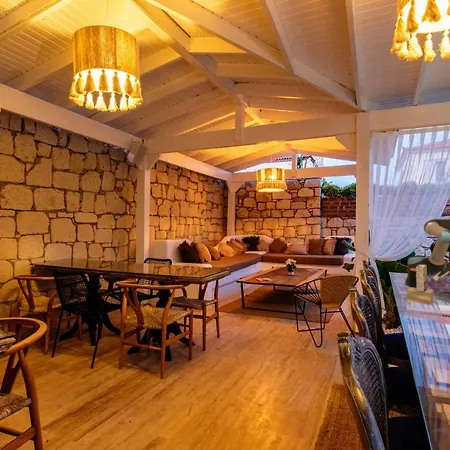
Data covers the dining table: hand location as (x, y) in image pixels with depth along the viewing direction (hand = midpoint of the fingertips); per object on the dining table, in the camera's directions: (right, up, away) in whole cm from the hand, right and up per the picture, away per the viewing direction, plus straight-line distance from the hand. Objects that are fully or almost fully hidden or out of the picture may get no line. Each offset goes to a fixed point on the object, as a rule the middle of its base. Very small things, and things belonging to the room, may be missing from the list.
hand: (437, 277), depth 228 cm
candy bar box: (-7, -9, +5) cm, 13 cm away
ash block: (-8, -17, +7) cm, 20 cm away
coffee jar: (+4, -17, +30) cm, 35 cm away
